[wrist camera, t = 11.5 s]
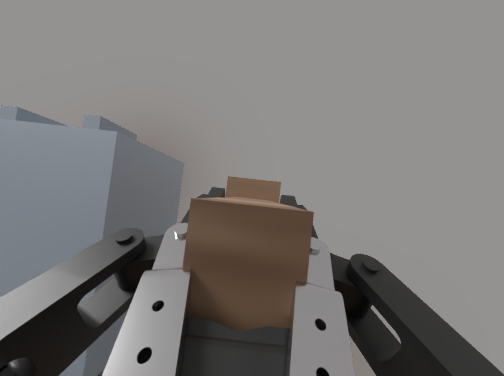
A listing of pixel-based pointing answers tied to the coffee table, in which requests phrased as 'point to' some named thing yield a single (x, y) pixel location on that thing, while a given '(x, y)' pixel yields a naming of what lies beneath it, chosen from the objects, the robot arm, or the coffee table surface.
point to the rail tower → (76, 200)
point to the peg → (246, 255)
